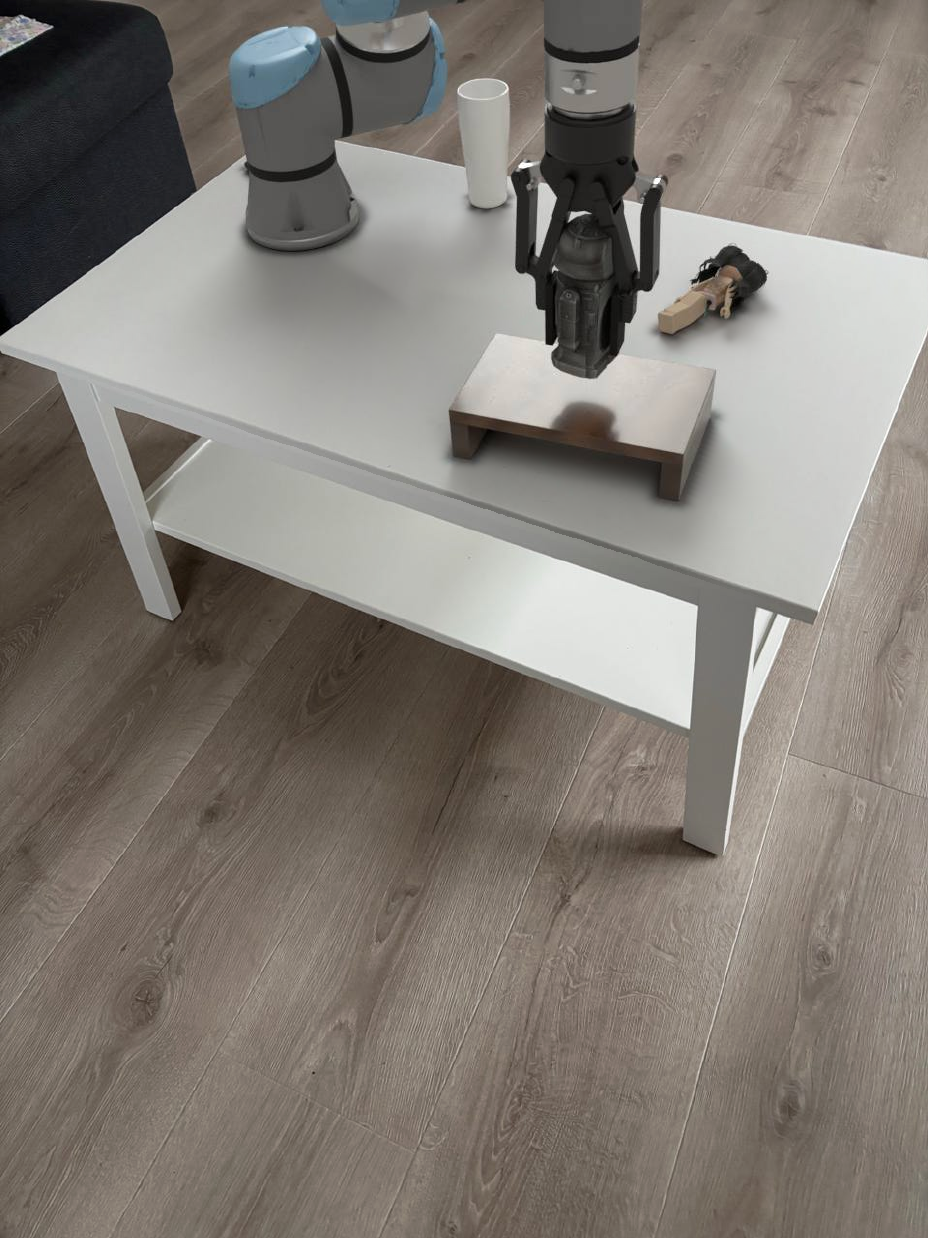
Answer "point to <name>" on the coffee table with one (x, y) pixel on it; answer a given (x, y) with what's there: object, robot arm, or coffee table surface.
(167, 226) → the coffee table surface
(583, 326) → the toy
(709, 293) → the toy figure
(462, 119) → the drinking glass
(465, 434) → the shelf
